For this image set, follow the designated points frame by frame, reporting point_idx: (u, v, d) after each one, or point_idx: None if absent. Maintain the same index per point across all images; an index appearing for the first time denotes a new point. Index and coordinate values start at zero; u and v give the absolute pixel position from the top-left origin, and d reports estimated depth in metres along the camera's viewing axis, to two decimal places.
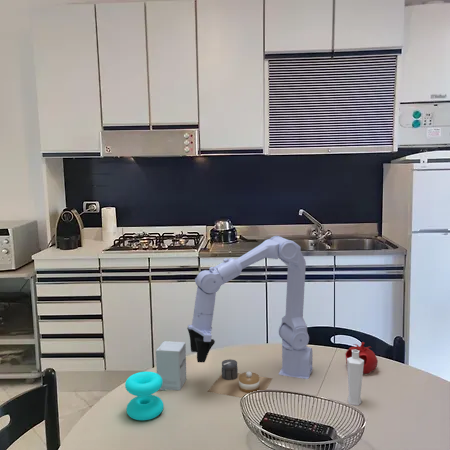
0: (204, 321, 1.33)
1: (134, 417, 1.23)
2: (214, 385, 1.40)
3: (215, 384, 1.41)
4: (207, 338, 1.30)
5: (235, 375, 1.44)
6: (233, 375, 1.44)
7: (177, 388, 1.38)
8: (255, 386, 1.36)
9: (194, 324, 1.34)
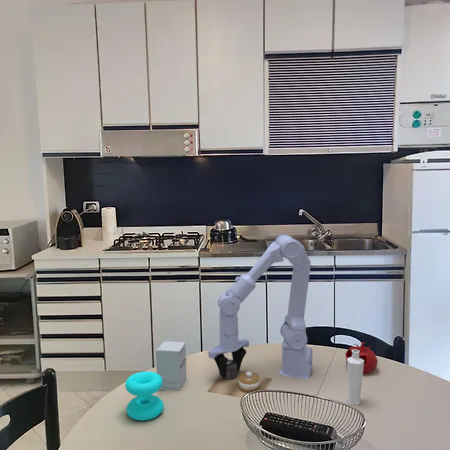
0: (221, 340, 1.43)
1: (134, 417, 1.23)
2: (214, 385, 1.40)
3: (215, 384, 1.41)
4: (210, 355, 1.40)
5: (235, 375, 1.44)
6: (233, 375, 1.44)
7: (177, 388, 1.38)
8: (255, 386, 1.36)
9: None
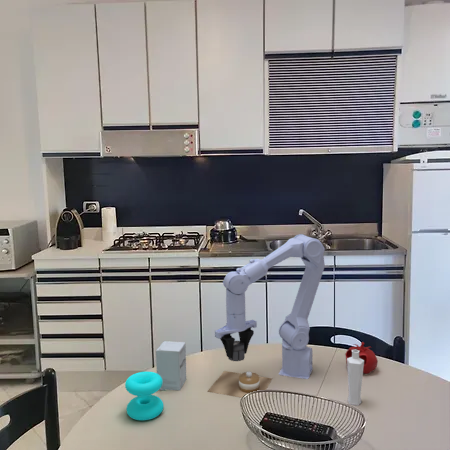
0: (227, 320, 1.39)
1: (134, 417, 1.23)
2: (214, 385, 1.40)
3: (215, 384, 1.41)
4: (216, 334, 1.36)
5: (242, 356, 1.40)
6: (240, 356, 1.40)
7: (177, 388, 1.38)
8: (255, 386, 1.36)
9: None
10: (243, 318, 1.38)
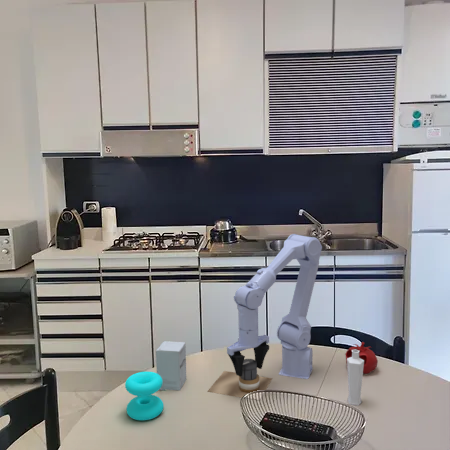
0: (240, 336, 1.34)
1: (134, 417, 1.23)
2: (214, 385, 1.40)
3: (215, 384, 1.41)
4: (229, 351, 1.32)
5: (255, 375, 1.36)
6: (253, 375, 1.36)
7: (177, 388, 1.38)
8: (255, 386, 1.36)
9: None
10: (256, 334, 1.34)
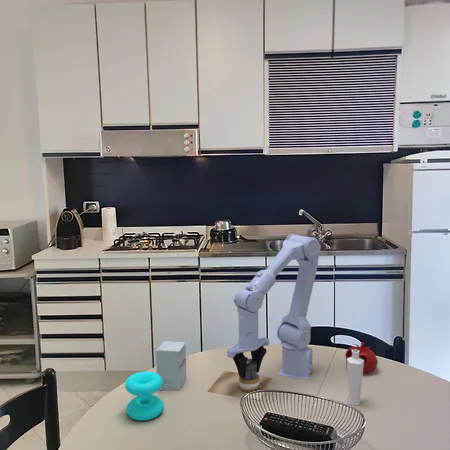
0: (240, 338, 1.35)
1: (134, 417, 1.23)
2: (214, 385, 1.40)
3: (215, 384, 1.41)
4: (229, 354, 1.32)
5: (255, 375, 1.36)
6: (253, 375, 1.36)
7: (177, 388, 1.38)
8: (255, 386, 1.36)
9: None
10: (256, 336, 1.34)
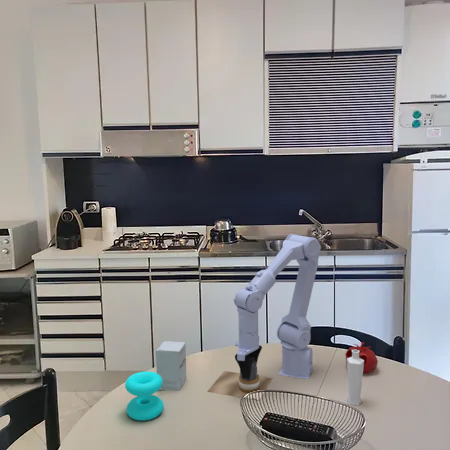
0: (244, 340, 1.34)
1: (134, 417, 1.23)
2: (214, 385, 1.40)
3: (215, 384, 1.41)
4: (240, 357, 1.30)
5: None
6: None
7: (177, 388, 1.38)
8: (255, 386, 1.36)
9: (239, 341, 1.36)
10: None
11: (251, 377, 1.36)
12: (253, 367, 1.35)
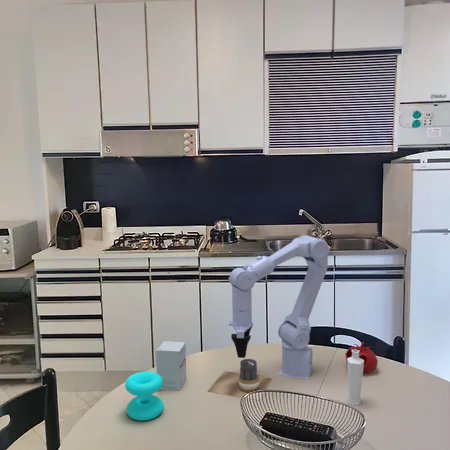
0: (240, 318, 1.36)
1: (134, 417, 1.23)
2: (214, 385, 1.40)
3: (215, 384, 1.41)
4: (240, 335, 1.32)
5: None
6: None
7: (177, 388, 1.38)
8: (255, 386, 1.36)
9: (233, 320, 1.38)
10: None
11: (253, 377, 1.36)
12: (254, 366, 1.36)
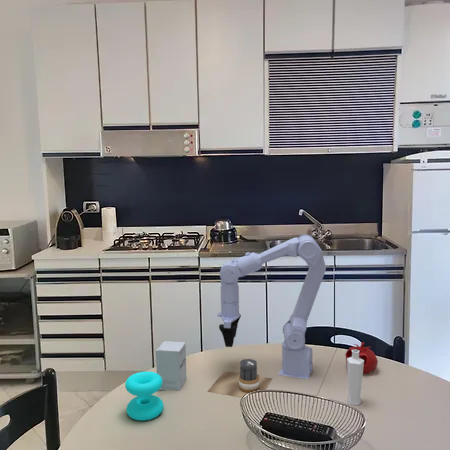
0: (228, 309, 1.44)
1: (134, 417, 1.23)
2: (214, 385, 1.40)
3: (215, 384, 1.41)
4: (227, 325, 1.40)
5: None
6: None
7: (177, 388, 1.38)
8: (255, 386, 1.36)
9: (221, 312, 1.46)
10: None
11: (253, 377, 1.36)
12: (254, 366, 1.36)
